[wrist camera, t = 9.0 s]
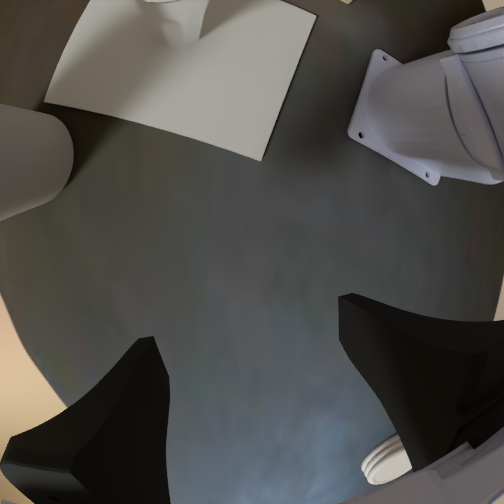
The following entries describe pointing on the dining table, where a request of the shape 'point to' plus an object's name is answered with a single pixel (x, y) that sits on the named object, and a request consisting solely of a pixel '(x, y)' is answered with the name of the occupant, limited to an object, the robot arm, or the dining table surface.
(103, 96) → the grey mat
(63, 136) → the beverage can
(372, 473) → the white ridged disc
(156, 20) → the milkshake
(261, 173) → the dining table surface
